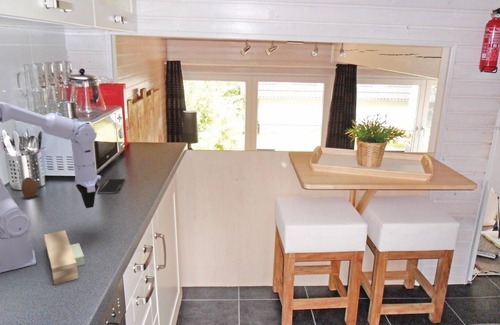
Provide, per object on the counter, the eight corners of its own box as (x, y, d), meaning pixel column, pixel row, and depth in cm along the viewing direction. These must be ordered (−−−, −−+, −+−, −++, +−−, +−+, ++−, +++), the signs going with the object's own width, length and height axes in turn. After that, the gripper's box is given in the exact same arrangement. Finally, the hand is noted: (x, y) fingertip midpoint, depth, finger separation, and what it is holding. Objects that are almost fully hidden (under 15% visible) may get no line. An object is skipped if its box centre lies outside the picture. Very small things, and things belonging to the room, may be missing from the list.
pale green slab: (56, 271, 102) (54, 263, 101) (52, 257, 109) (51, 249, 108) (84, 264, 106) (83, 256, 105) (79, 251, 112) (78, 243, 111)
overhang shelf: (54, 284, 97) (52, 268, 95) (46, 248, 113) (43, 234, 112) (78, 278, 100) (76, 262, 98) (66, 244, 116) (65, 230, 114)
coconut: (20, 198, 147) (16, 178, 145) (32, 194, 152) (29, 174, 149) (29, 201, 145) (26, 180, 143) (41, 196, 149) (38, 176, 147)
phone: (96, 192, 153) (107, 178, 167) (96, 194, 153) (107, 181, 167) (117, 192, 153) (126, 178, 168) (117, 194, 154) (126, 181, 168)
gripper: (104, 168, 110) (108, 213, 114) (94, 155, 122) (98, 196, 126) (77, 172, 107) (82, 218, 111) (69, 158, 119) (74, 200, 123)
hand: (89, 206), depth 118 cm, fingers closed
